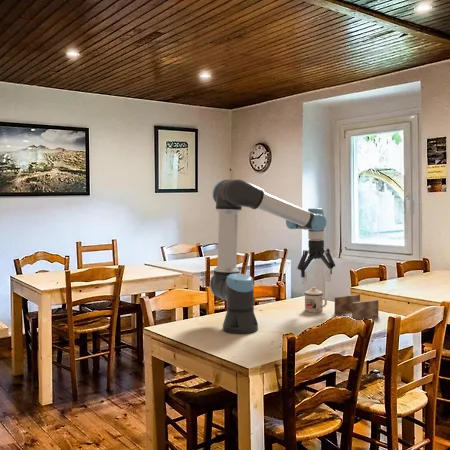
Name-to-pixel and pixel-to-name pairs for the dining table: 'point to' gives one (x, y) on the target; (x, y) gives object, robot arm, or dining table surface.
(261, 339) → the dining table surface
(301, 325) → the dining table surface
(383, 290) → the dining table surface
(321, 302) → the teacup with lid
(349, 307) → the caddy
